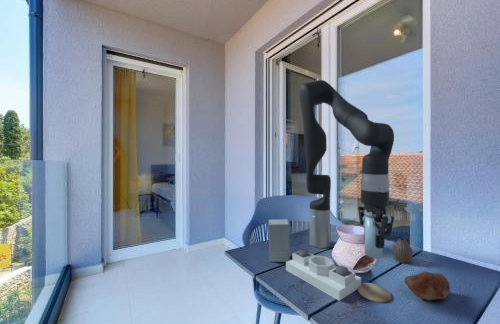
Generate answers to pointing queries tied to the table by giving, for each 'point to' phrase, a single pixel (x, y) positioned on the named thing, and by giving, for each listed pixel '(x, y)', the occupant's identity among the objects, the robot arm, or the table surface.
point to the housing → (323, 275)
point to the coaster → (374, 292)
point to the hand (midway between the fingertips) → (373, 243)
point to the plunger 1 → (303, 253)
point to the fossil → (428, 285)
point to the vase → (402, 251)
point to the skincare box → (279, 240)
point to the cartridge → (371, 237)
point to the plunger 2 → (342, 271)
